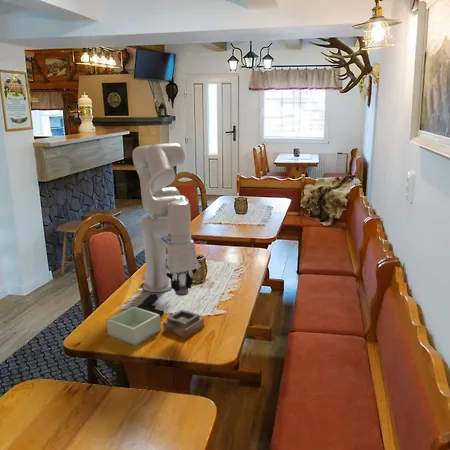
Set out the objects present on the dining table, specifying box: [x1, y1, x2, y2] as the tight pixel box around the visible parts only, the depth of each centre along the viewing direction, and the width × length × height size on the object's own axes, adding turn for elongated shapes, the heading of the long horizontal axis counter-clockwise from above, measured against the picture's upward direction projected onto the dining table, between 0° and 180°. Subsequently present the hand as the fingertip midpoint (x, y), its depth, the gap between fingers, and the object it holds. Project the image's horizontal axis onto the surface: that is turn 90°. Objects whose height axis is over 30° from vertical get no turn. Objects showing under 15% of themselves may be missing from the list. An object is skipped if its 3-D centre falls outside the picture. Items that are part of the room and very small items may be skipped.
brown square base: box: [162, 309, 205, 338], centre depth 163 cm, size 10×10×4 cm
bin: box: [106, 306, 162, 347], centre depth 160 cm, size 13×13×6 cm
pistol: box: [136, 293, 164, 319], centre depth 179 cm, size 3×20×11 cm
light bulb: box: [174, 271, 189, 297], centre depth 159 cm, size 4×4×8 cm
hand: (181, 287), depth 160 cm, fingers closed on light bulb, 4 cm apart
